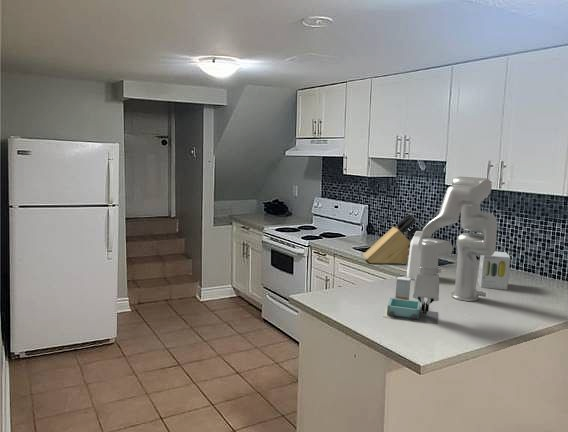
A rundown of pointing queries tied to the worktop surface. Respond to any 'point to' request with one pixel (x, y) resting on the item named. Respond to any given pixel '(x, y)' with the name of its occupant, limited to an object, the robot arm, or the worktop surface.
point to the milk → (414, 256)
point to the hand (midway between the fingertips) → (424, 312)
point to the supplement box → (494, 270)
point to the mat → (427, 318)
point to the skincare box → (403, 288)
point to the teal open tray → (403, 308)
